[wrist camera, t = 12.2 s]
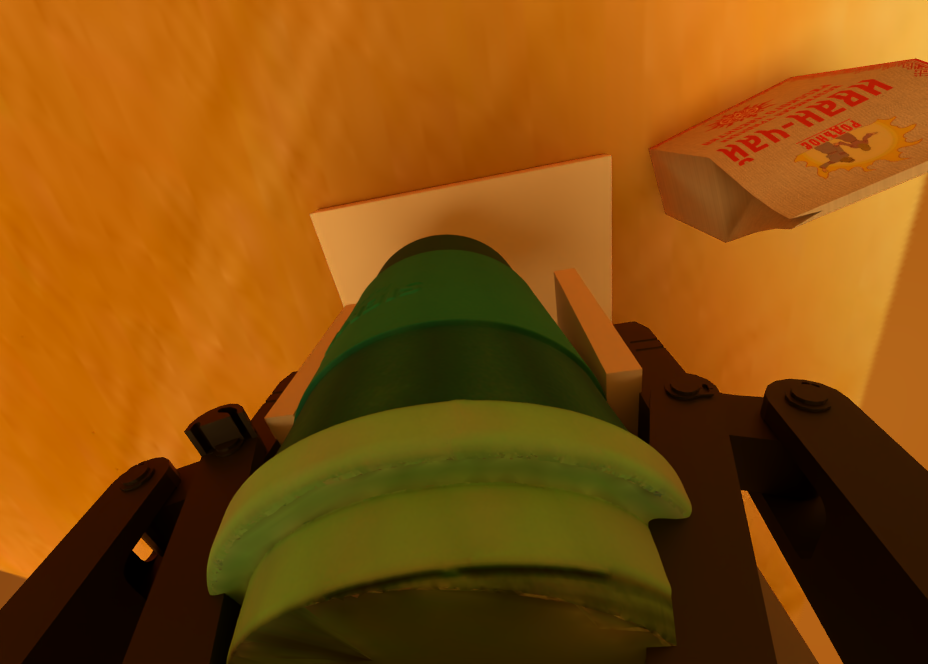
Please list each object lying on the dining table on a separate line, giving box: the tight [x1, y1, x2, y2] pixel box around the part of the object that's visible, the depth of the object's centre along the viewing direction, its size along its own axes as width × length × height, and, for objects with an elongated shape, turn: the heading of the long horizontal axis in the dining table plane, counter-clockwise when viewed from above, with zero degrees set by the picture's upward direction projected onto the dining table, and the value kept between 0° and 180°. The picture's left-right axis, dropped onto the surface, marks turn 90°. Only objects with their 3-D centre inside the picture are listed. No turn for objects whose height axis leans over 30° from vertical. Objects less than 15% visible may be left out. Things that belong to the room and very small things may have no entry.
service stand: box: [310, 154, 819, 664], centre depth 14 cm, size 12×16×22 cm
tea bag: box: [649, 59, 928, 242], centre depth 15 cm, size 4×7×10 cm, turn 117°
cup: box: [207, 234, 692, 664], centre depth 10 cm, size 8×8×12 cm
